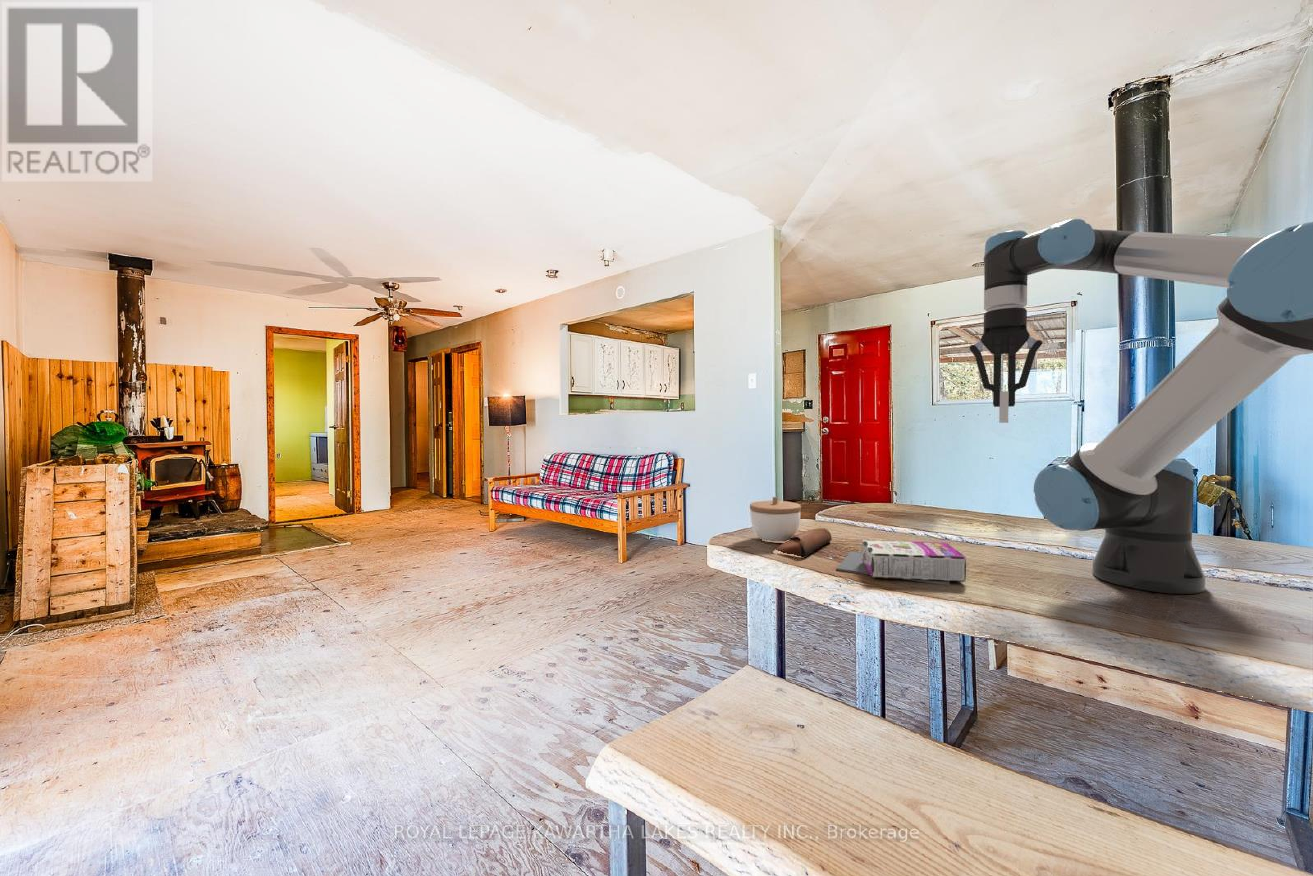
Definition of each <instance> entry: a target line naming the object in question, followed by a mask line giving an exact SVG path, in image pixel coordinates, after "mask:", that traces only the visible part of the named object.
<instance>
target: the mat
mask: <svg viewBox="0 0 1313 876" xmlns="http://www.w3.org/2000/svg"><path fill="white" fill-rule="evenodd" d="M835 570H836V571H839V572H848V573H854V574H861V575H869V576H871V574H870V573H869V571H868V569H867V568H866V566H865V565H864V563H863V561H862V552H857V551H850V552H849V553H848V554H847V555H846V557H845V558H844V559H842V561H841V562H840V563H839V564H838V565H837V567H836V568H835ZM903 580H906V581H912V582H920V583H928V584H934V585H943V586H948V587H949V586H950V583H951V581H941V580H921V579H903Z"/></svg>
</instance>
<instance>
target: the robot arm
mask: <svg viewBox="0 0 1313 876" xmlns="http://www.w3.org/2000/svg"><path fill="white" fill-rule="evenodd" d="M984 247H985V248H984V254H983V255H984V256H983V263H984V264H983V265H984V266H983V267H984V270H983V272H984V273H983V274H984V275H983V276H984V277H983V278H984V279H983V281H984V286H983V287H984V289H983V310H984V311H986V312H985V313H984V314H983V332H982V333H983V334H982V335H981V337H980V340H979V341H978V342H976V343H975V344H971V345H969V351H970V353H971V354H973V357H975V361H976V365H977V369H978V373H979V376H980V380H981V382H982V387H983V389H985V390H989V391H991V392H992V405H993V407H994V408H995V407H996V408H998V410H999V411H998V415H999V416H998V419H999V420H998V422H999V423H1001V424H1006V423H1007V424H1008V423H1009V407H1015V406H1016V392H1017V390H1020V389H1023V388H1026V385H1027V384H1028V380H1029V376H1030V372H1031V371H1032V370H1031V369H1032V366H1033V363H1034V360H1035V357H1036V353H1037V351H1038V350H1039V349H1040V347H1041V346H1042V345H1043V340H1040V339H1036V338H1034V337H1031V335H1030V332H1029V331H1028V328H1027V327H1028V324H1027V321H1028V310H1027V309H1026V308H1025V307H1027V305H1028V278H1029V277H1028V276H1031V275H1034V274H1037V273H1040V272H1043V271H1047V270H1070V271H1071V270H1072V271H1087V272H1088V271H1090V272H1099V273H1101V272H1102V273H1108V274H1115V275H1127V276H1136V277H1142V278H1150V279H1159V280H1165V281H1166V280H1167V281H1173V282H1181V283H1189V284H1197V285H1205V286H1212V287H1220V288H1226V297H1225V298H1224V299H1223V300H1222V301H1220V303H1219V304H1218V306H1217V307H1216V308H1215V311H1216V314H1217V319H1218V323H1217V325H1216V326H1215V327H1214V328H1212V329H1211V331H1209V333H1207V335H1206V336H1205V337H1204V338H1203V339H1202V340H1201V341H1200V342H1199V343H1198V344H1197V345H1196V346H1195V347H1194V348H1193V349H1192V350H1191V351H1190V352H1189V353H1188V354H1187V355H1186V356H1184V358H1183V359H1182V360H1181V361H1180V362H1178V364H1177V365H1176V366H1175V367H1174V368H1173V369H1172V370H1171V371H1170V372H1168V374H1166V376H1165V377H1164V378H1163V379H1162V380H1161V381H1160V382H1159V383H1158V384H1157V385H1156V386H1155V387H1154V388H1153V389H1152V390H1151V391H1150V392H1149V393H1148V394H1147V395H1146V396H1145V397H1144V398H1143V399H1142V400H1141V401H1140V402H1139V403H1138V404H1137V405H1136V406H1135V407H1134V408H1133V409H1132V410H1131V411H1130V412H1129V413H1128V414H1127V416H1125V417H1124V418H1123V419H1122V420H1121V421H1120V422H1119V423H1118V424H1117V426H1115V427H1114V428H1113V429H1112V430H1111V431H1110V432H1109V433H1108V434H1107V435H1106V436H1105V437H1104V438H1103V439H1102V440H1101V441H1100V442H1088V443H1085V444H1084V445H1082V446H1081V447H1080V448H1079V449H1078V450H1077V451H1076V452H1075V453H1074V454H1073V455H1072V456H1071V458H1069V459H1068V460H1067V461H1066V462H1065V463H1054V464H1052V465H1049V466H1046V467H1044V468H1043V469H1041V470H1040V471H1039V472H1038V473H1037V476H1036V477H1035V481H1034V484H1033V493H1034V500H1035V504H1036V507H1037V508H1038V511H1039V512H1040V513H1041V515H1043V517H1044V518H1045V519H1046V520H1047V521H1048V522H1050V523H1051V524H1052V525H1053V526H1055V527H1058V528H1060V529H1063V530H1068V531H1078V532H1086V531H1093V530H1105V532H1104V533H1105V534H1104V536H1103V539H1102V541H1101V544H1100V545H1099V547H1098V549H1097V552H1096V554H1095V557H1094V559H1093V561H1092V571H1091V572H1092V575H1093V576H1095V577H1096V578H1098V579H1099V580H1102V581H1105V582H1108V583H1111V584H1114V585H1118V586H1122V587H1125V586H1126V588H1130V587H1131V589H1136V590H1142V591H1148V592H1154V593H1155V592H1156V593H1163V594H1175V595H1176V594H1177V595H1178V594H1179V595H1191V594H1192V595H1195V594H1200V593H1203V592H1205V591H1206V576H1205V574H1204V571H1203V569H1202V566H1201V564H1200V562H1199V559H1198V556H1197V554H1196V552H1195V550H1194V547H1193V543H1192V542H1193V515H1194V493H1195V492H1194V491H1195V485H1196V481H1195V478H1194V467H1193V465H1192V464H1191V463H1190V462H1188V461H1186V460H1184V459H1176V458H1178V457H1179V456H1180V455H1181V454H1182V453H1183V452H1184V451H1185V450H1187V449H1188V448H1189V447H1190V446H1191V445H1193V444H1194V443H1195V442H1196V441H1197V440H1198V439H1200V437H1202V436H1203V435H1205V433H1206V432H1207V431H1209V430H1210V429H1211V428H1212V427H1213V426H1215V425H1216V424H1217V423H1218V422H1220V420H1222V419H1223V418H1224V417H1226V415H1227V414H1228V413H1230V412H1231V411H1232V410H1233V409H1235V408H1236V407H1237V406H1238V405H1239V404H1240V403H1242V402H1243V401H1244V400H1245V399H1246V398H1247V397H1248V396H1250V395H1251V394H1252V393H1253V392H1255V390H1257V389H1258V388H1259V387H1260V386H1262V384H1263V383H1265V382H1266V381H1268V379H1270V377H1271V376H1273V375H1274V374H1276V373H1277V372H1278V371H1279V370H1280V369H1281V368H1282V367H1283V366H1285V365H1287V363H1289V361H1291V359H1293V358H1294V357H1297V356H1301V355H1309V354H1313V221H1310V222H1303V223H1300V224H1296V225H1292V226H1289V227H1286V228H1284V229H1280V230H1279V231H1276V232H1274V233H1272V234H1269V235H1268V236H1265V237H1251V236H1250V237H1249V236H1235V235H1234V236H1233V235H1232V236H1230V235H1211V234H1190V233H1170V232H1153V231H1151V232H1149V231H1147V232H1146V231H1131V230H1120V229H1119V230H1114V229H1113V230H1110V229H1096V228H1095V229H1094V228H1093V227H1092V225H1091V224H1089V223H1087V222H1086V221H1085V220H1084V219H1081V218H1073V219H1069V220H1065V221H1061V222H1057V223H1055V224H1052V225H1050V226H1048V227H1046V228H1044V229H1041V230H1038V231H1036V232H1033V233H1030V234H1028V232H1026V231H1024V230H1020V229H1018V230H1017V229H1016V230H1007V231H1003V232H999V233H995V234H993V235H991V236H990V237H988V238H987V240H986V241H985V244H984ZM1026 343H1027V346H1026V348H1027V349H1028V351H1027V355H1026V358H1025V360H1024V363H1023V368H1022V369H1021V373H1020V377H1019V381H1018V382H1017V383H1016V374H1017V373H1016V372H1017V369H1016V363H1017V362H1016V361H1017V359H1016V358H1017V357H1016V356H1017V353H1018V352H1019V351H1020V350H1021V348H1023V347H1024V346H1025V344H1026ZM983 346H984V347H985V348H986V349H987V350H988V351H989V353H991V355H992V356H993V371H992V372H993V373H992V374H993V375H992V377H993V380H992V381H993V384H992V383H990V380H989V375H988V372H987V369H986V365H985V362H984V358H983V354H982V352H983ZM1002 355H1007V391H1001V378H1002V377H1001V376H1002V375H1001V373H1002V372H1001V370H1002V369H1001V368H1002V365H1001V363H1002Z"/></svg>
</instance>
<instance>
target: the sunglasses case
mask: <svg viewBox="0 0 1313 876" xmlns="http://www.w3.org/2000/svg"><path fill="white" fill-rule="evenodd" d="M832 539H833V538H832V534H831V532H830V531H829V529H827V528H824V527H823V528H822V527H820V528H813V529H809V530H808V529H807V530H806V531H803V532H801V533H796V534H795V535H794V536H793V537H791V538H790V540H789V541H787V542H785V543H782V544H780V545H779V546H777V547H775V549H776V550H778V551H781V552H783V553H787V554H794V555H797V556H801V557H804V558H807V557H808V556H810V555H811V554H812V553H813V552H815V551H816V550H817V549H819V548H821V547H822V546H824V545H826V544H827V543H830V542H831V541H832ZM829 541H830V542H829Z"/></svg>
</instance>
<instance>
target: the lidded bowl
mask: <svg viewBox="0 0 1313 876" xmlns="http://www.w3.org/2000/svg"><path fill="white" fill-rule="evenodd" d="M749 509H750V522H751V527H752V530H753V531H754V533H755V534H756V536H758V538H760V540H761V539H763V540H770V541H787V540H790V538H791V537H793V536H795V535H797V534H798V530H799V528H800V523H801V511H802V506H801V504H799V503H797V502H792V501H785V500H778V496H772V500H760V501H759V500H758V501H753V502H751V503H750V504H749Z"/></svg>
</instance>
